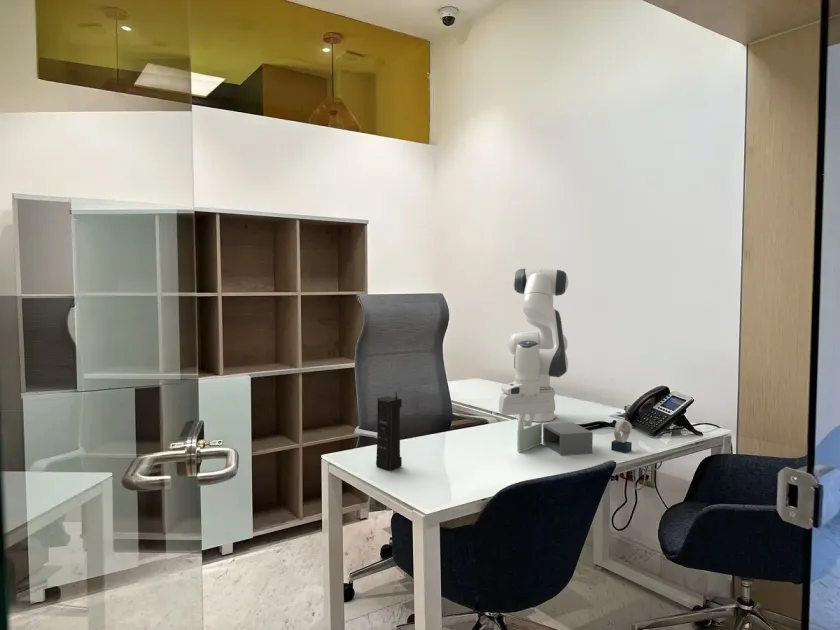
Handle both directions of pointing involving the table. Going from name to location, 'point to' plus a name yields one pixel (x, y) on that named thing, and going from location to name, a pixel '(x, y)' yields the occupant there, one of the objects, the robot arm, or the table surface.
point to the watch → (621, 442)
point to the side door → (528, 436)
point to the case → (567, 438)
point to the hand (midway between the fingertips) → (527, 426)
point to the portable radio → (388, 433)
